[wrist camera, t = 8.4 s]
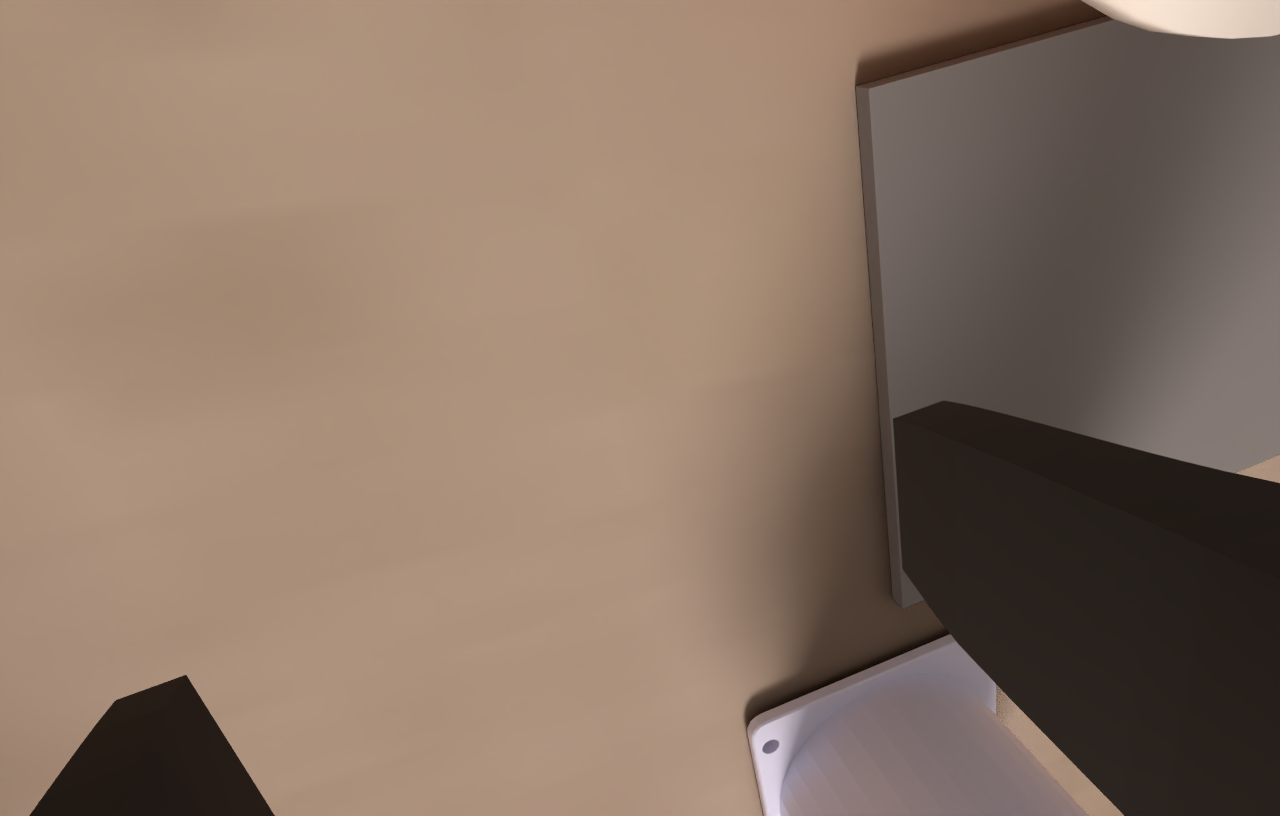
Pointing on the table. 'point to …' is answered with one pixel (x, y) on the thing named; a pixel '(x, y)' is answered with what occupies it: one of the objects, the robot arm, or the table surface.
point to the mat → (1081, 242)
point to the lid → (1197, 16)
